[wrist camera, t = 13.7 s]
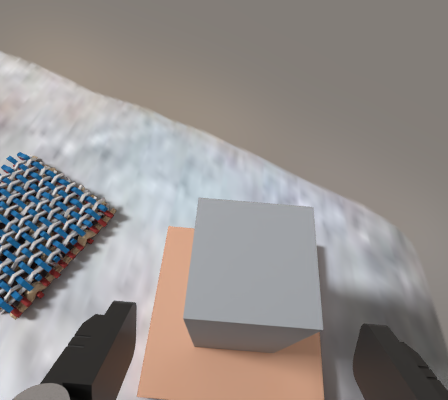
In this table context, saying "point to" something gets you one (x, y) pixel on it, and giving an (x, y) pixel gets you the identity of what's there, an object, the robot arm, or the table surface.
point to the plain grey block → (252, 276)
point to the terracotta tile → (216, 350)
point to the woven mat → (41, 228)
